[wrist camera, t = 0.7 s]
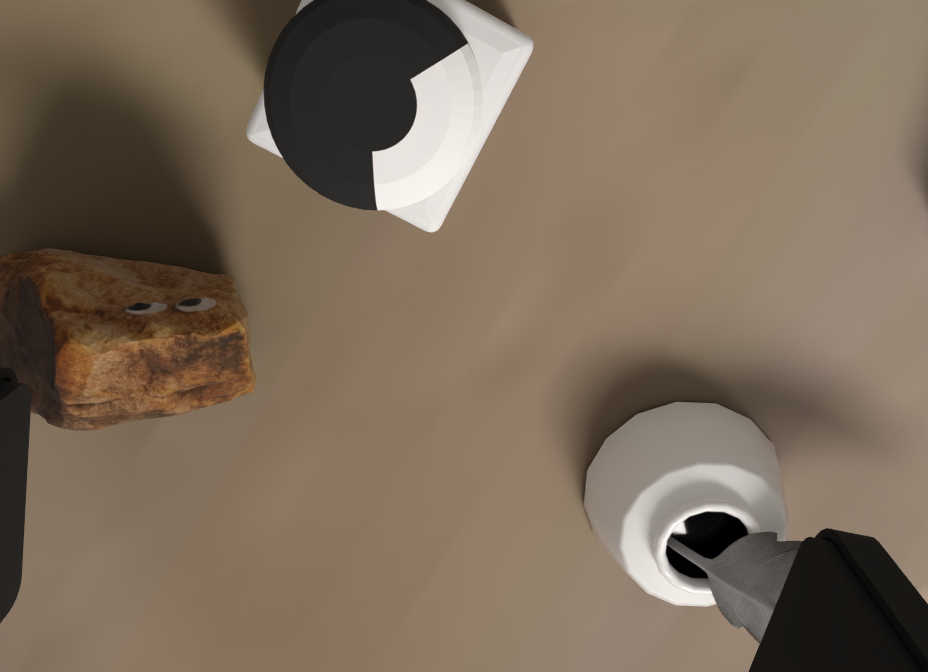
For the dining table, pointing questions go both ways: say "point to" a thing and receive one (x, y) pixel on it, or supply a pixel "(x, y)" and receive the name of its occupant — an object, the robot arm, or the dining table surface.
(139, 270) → the decorative rock
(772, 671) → the robot arm
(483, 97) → the medicine bottle
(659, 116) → the dining table surface
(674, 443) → the inkwell
